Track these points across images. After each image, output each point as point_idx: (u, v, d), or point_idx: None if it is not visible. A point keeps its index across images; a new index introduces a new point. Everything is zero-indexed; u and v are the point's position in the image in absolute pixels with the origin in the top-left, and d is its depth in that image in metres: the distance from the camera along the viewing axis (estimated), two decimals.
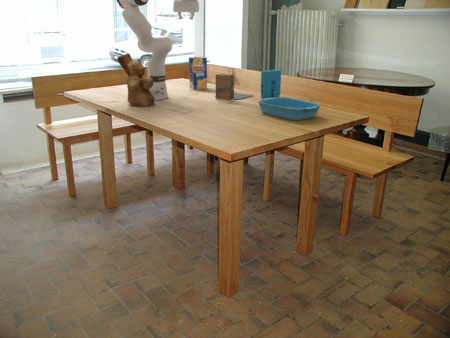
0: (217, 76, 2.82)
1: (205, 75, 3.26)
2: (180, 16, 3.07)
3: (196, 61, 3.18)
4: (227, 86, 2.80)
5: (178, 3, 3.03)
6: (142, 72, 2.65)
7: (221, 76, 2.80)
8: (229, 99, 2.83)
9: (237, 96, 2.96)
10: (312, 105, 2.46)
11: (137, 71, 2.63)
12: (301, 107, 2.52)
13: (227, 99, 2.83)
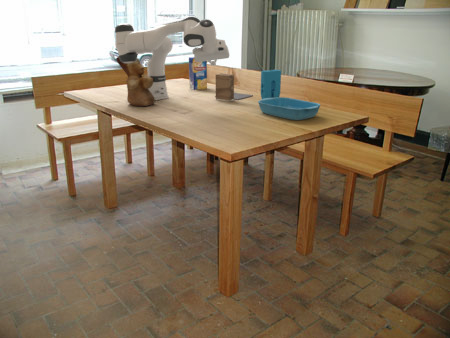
0: (217, 76, 2.82)
1: (205, 75, 3.26)
2: (211, 62, 2.64)
3: None
4: (227, 86, 2.80)
5: (202, 54, 2.56)
6: (142, 71, 2.65)
7: (221, 76, 2.80)
8: (229, 99, 2.83)
9: (237, 96, 2.96)
10: (312, 105, 2.46)
11: (136, 70, 2.64)
12: (300, 106, 2.52)
13: (227, 99, 2.83)
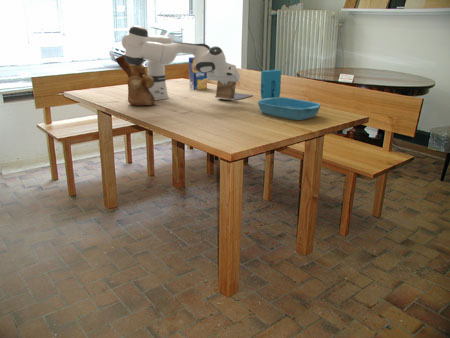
0: None
1: (205, 75, 3.26)
2: (223, 82, 2.80)
3: None
4: (229, 84, 2.81)
5: (213, 74, 2.73)
6: (143, 71, 2.66)
7: None
8: (229, 98, 2.83)
9: (237, 96, 2.96)
10: (312, 105, 2.47)
11: (138, 70, 2.64)
12: (300, 106, 2.53)
13: (227, 97, 2.82)
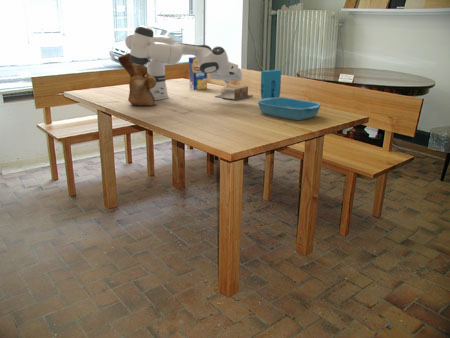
0: (236, 85, 3.01)
1: (205, 75, 3.26)
2: (226, 81, 2.85)
3: (196, 61, 3.18)
4: (241, 87, 2.92)
5: (216, 74, 2.79)
6: (146, 71, 2.66)
7: None
8: (234, 91, 2.86)
9: None
10: (312, 104, 2.47)
11: (142, 70, 2.64)
12: (300, 106, 2.53)
13: (234, 89, 2.86)
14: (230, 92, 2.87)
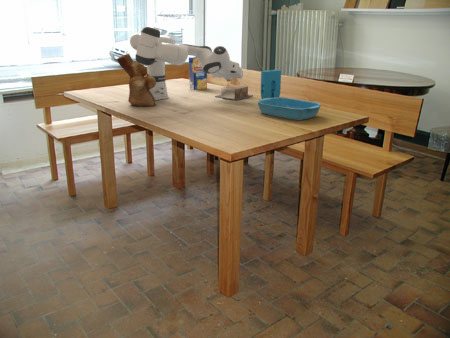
0: (236, 85, 3.01)
1: (205, 75, 3.26)
2: (227, 78, 2.92)
3: (196, 61, 3.18)
4: (241, 87, 2.92)
5: (218, 72, 2.85)
6: (146, 72, 2.66)
7: None
8: (234, 91, 2.86)
9: None
10: (312, 104, 2.47)
11: (141, 71, 2.63)
12: (299, 106, 2.53)
13: (234, 89, 2.86)
14: (230, 92, 2.87)
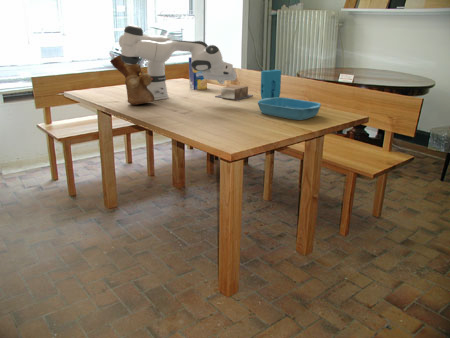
0: (236, 85, 3.01)
1: None
2: (220, 81, 2.76)
3: None
4: (241, 87, 2.92)
5: (210, 73, 2.70)
6: (139, 69, 2.66)
7: None
8: (234, 91, 2.86)
9: None
10: (311, 104, 2.47)
11: (135, 69, 2.64)
12: (299, 106, 2.53)
13: (234, 89, 2.86)
14: (230, 92, 2.87)
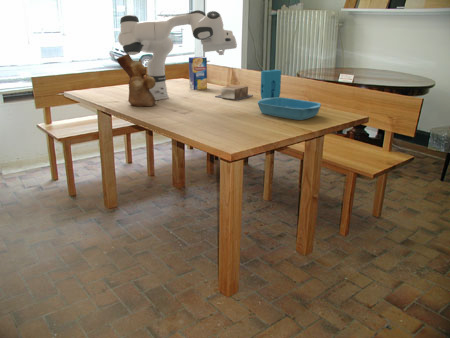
0: (236, 85, 3.01)
1: (205, 75, 3.26)
2: (219, 52, 2.71)
3: (196, 61, 3.18)
4: (241, 87, 2.92)
5: (210, 44, 2.64)
6: (145, 72, 2.65)
7: None
8: (234, 91, 2.86)
9: None
10: (311, 104, 2.48)
11: (140, 71, 2.63)
12: (299, 106, 2.53)
13: (234, 89, 2.86)
14: (230, 92, 2.87)
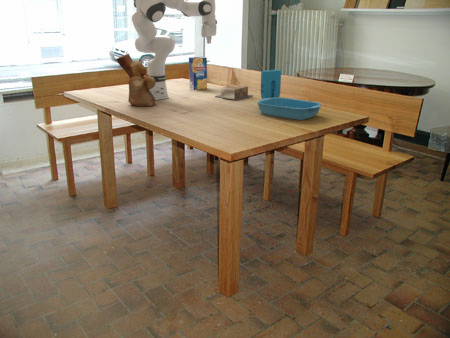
0: (236, 85, 3.01)
1: (205, 75, 3.26)
2: None
3: (196, 61, 3.18)
4: (241, 87, 2.92)
5: (208, 27, 2.90)
6: (145, 72, 2.65)
7: None
8: (234, 91, 2.86)
9: None
10: (311, 104, 2.48)
11: (140, 71, 2.63)
12: (298, 106, 2.53)
13: (234, 89, 2.86)
14: (230, 92, 2.87)
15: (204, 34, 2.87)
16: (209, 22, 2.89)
